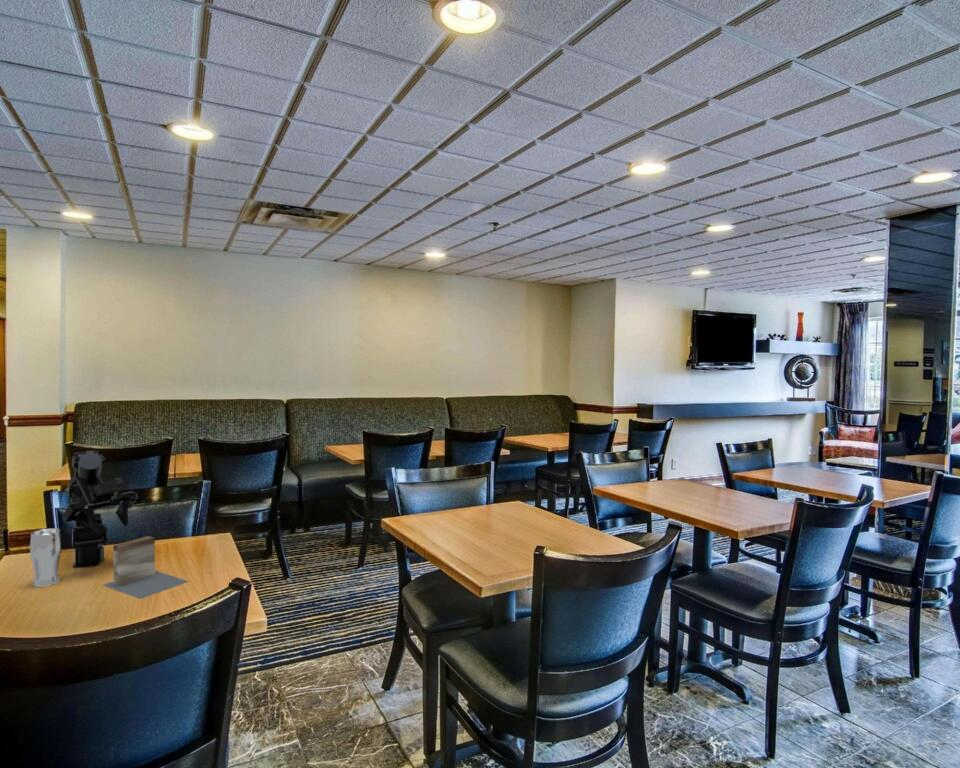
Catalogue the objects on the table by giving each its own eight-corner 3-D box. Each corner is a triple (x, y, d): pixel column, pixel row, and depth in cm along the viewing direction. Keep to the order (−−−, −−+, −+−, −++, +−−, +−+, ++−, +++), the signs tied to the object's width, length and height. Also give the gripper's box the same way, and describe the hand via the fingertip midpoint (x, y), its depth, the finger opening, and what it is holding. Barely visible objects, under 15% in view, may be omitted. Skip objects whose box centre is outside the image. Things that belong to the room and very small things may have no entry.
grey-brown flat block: (113, 584, 161) (113, 545, 161) (148, 572, 170) (148, 536, 170) (119, 586, 160) (119, 547, 159) (154, 574, 169) (154, 537, 168)
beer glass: (67, 581, 164) (67, 529, 163) (41, 590, 157) (41, 536, 156) (50, 578, 166) (49, 526, 165) (24, 587, 159) (23, 533, 159)
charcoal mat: (102, 586, 161) (102, 584, 161) (151, 571, 173) (151, 569, 173) (140, 600, 152) (140, 598, 152) (189, 583, 164) (189, 581, 164)
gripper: (68, 475, 163) (90, 520, 158) (134, 465, 180) (156, 505, 175) (54, 499, 167) (75, 543, 162) (119, 487, 184) (140, 527, 179)
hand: (113, 528), depth 170 cm, fingers open, 7 cm apart
